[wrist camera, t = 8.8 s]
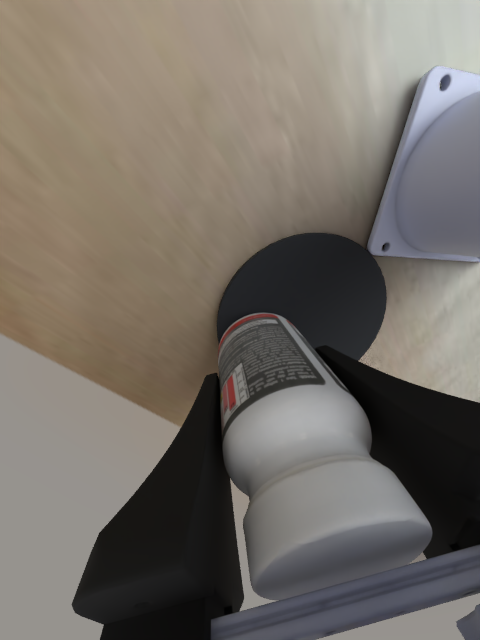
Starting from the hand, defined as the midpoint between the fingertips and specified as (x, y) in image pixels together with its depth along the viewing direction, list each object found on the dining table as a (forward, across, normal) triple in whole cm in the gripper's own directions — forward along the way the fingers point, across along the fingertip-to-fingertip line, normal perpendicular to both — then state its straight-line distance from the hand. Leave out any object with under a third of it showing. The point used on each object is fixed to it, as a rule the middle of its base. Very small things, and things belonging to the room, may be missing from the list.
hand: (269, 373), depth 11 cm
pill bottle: (+3, 0, 0) cm, 3 cm away
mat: (+3, -3, -1) cm, 5 cm away
